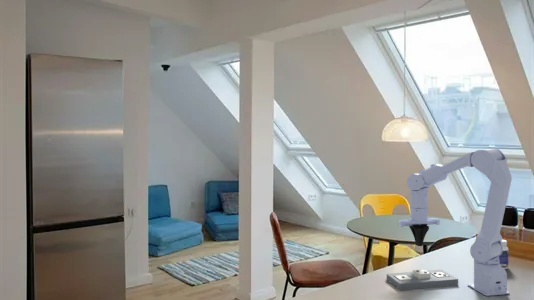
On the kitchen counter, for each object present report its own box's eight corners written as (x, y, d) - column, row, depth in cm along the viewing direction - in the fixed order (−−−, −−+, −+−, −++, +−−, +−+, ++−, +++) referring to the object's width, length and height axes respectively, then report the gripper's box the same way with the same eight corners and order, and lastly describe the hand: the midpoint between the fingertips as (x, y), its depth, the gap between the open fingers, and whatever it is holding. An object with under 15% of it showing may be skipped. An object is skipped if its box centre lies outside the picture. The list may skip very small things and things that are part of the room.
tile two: (430, 279, 145) (430, 272, 145) (418, 280, 145) (418, 273, 145) (424, 275, 149) (424, 268, 149) (413, 276, 149) (412, 269, 149)
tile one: (411, 284, 144) (411, 278, 144) (400, 285, 144) (400, 279, 144) (406, 280, 148) (405, 274, 148) (394, 281, 148) (394, 275, 148)
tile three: (448, 281, 147) (448, 275, 146) (437, 282, 146) (437, 276, 146) (442, 277, 150) (442, 271, 150) (431, 278, 150) (431, 272, 150)
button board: (458, 285, 144) (458, 279, 144) (400, 290, 141) (400, 283, 141) (441, 275, 154) (441, 269, 154) (386, 279, 150) (386, 273, 150)
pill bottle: (511, 269, 158) (511, 242, 157) (495, 270, 158) (495, 242, 157) (503, 264, 163) (503, 238, 163) (487, 265, 164) (487, 238, 163)
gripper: (432, 204, 162) (432, 241, 162) (394, 206, 159) (394, 243, 160) (442, 207, 155) (442, 246, 155) (403, 209, 152) (403, 249, 153)
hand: (419, 245), depth 157 cm, fingers closed
